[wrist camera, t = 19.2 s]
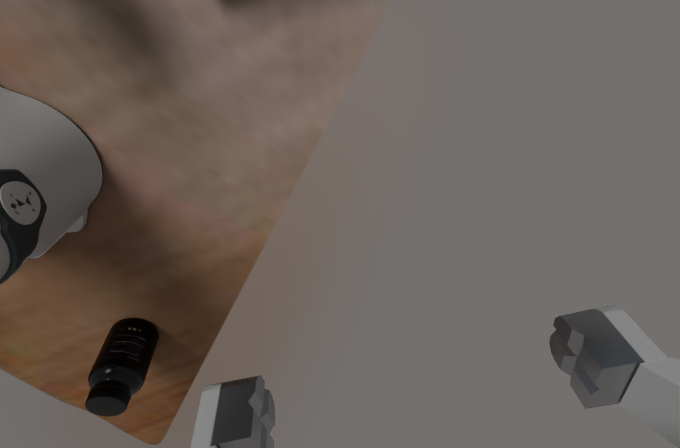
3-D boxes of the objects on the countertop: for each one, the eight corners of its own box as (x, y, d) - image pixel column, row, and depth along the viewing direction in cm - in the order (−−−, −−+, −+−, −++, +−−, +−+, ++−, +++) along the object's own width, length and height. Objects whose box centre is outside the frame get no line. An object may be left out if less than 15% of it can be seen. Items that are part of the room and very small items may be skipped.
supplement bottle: (156, 348, 61) (130, 424, 51) (109, 340, 58) (73, 418, 49) (163, 321, 57) (137, 396, 47) (114, 312, 55) (75, 389, 45)
